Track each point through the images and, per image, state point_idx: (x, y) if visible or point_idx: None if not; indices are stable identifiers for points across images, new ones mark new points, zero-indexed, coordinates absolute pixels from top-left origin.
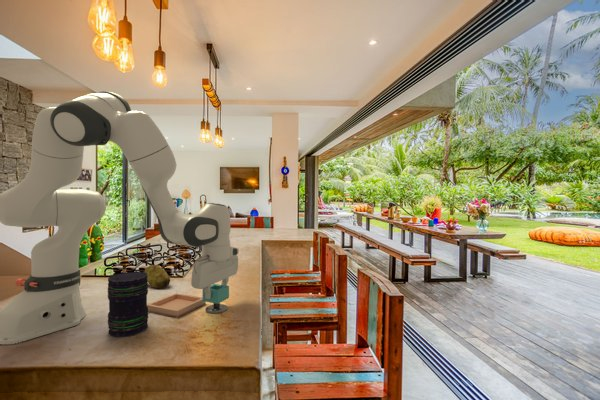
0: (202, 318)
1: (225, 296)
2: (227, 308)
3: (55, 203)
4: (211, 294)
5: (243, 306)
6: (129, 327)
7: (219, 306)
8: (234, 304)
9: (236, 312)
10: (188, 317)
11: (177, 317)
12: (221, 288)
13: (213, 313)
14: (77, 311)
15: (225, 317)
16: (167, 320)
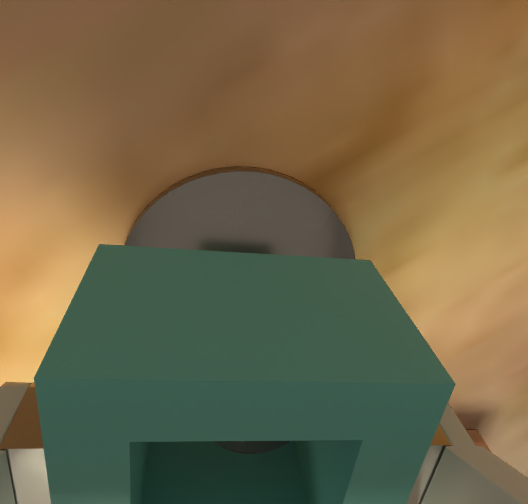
0: (472, 275)
1: (194, 274)
2: (191, 178)
3: None
4: None
5: (8, 8)
6: None
7: None
8: (11, 173)
9: (252, 4)
10: (459, 377)
11: (477, 432)
12: (266, 418)
13: (349, 248)
14: None
15: (430, 69)
16: (517, 452)
